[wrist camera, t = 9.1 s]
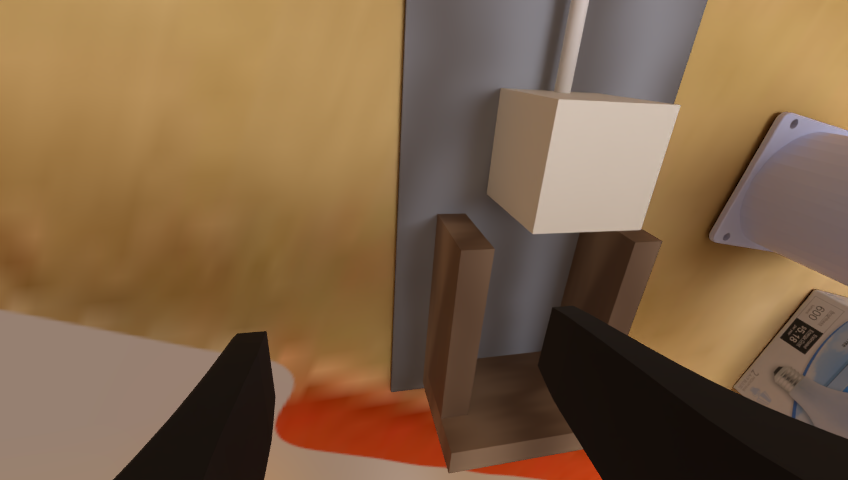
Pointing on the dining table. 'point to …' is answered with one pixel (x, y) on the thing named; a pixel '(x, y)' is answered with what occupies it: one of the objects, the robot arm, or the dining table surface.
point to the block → (577, 151)
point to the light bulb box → (806, 366)
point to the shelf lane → (494, 227)
